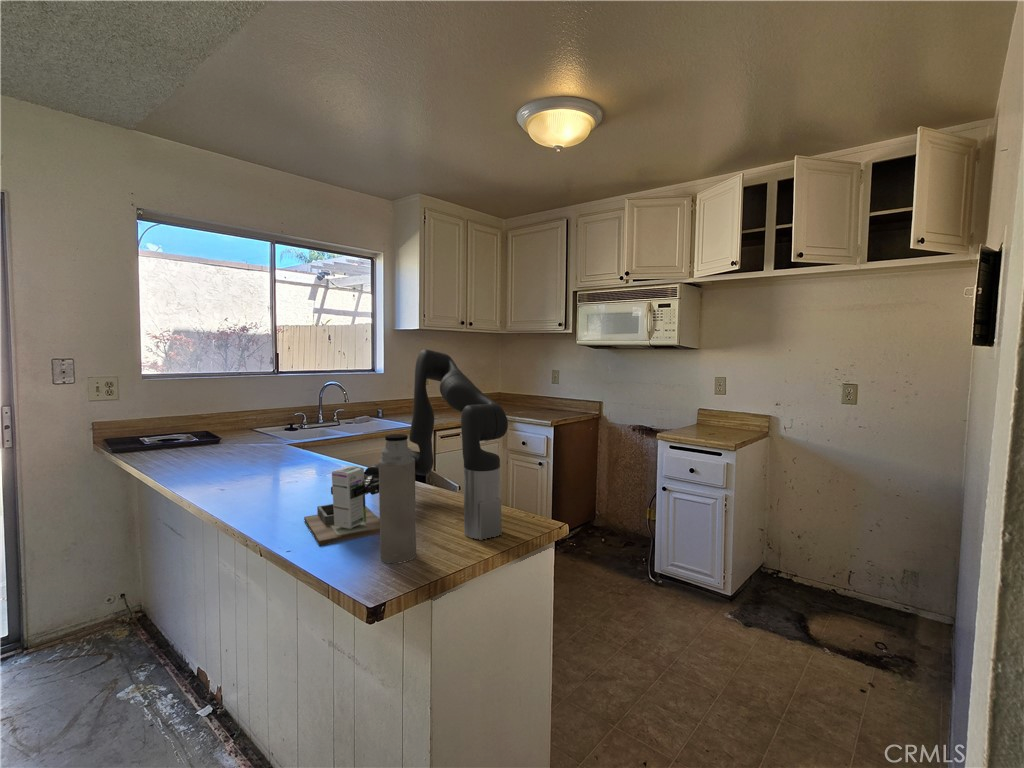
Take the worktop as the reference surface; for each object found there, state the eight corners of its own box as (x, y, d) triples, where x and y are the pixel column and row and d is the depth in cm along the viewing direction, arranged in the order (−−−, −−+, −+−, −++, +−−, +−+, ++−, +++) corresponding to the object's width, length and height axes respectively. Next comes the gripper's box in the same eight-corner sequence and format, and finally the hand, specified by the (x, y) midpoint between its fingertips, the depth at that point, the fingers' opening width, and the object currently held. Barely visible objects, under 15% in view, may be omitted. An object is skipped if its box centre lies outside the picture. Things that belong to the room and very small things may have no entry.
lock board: (388, 531, 127) (388, 518, 127) (319, 545, 118) (319, 531, 118) (366, 510, 144) (365, 498, 144) (304, 521, 135) (303, 508, 135)
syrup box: (350, 529, 123) (348, 473, 122) (333, 525, 126) (331, 470, 124) (366, 521, 128) (365, 467, 127) (349, 517, 131) (347, 464, 129)
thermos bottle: (384, 549, 116) (382, 432, 114) (418, 548, 116) (417, 431, 114) (376, 564, 108) (374, 438, 106) (413, 563, 108) (411, 438, 106)
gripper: (362, 460, 142) (319, 475, 126) (404, 465, 136) (364, 480, 121) (363, 486, 142) (320, 503, 127) (405, 491, 137) (365, 510, 121)
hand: (342, 492), depth 124 cm, fingers closed on syrup box, 6 cm apart
